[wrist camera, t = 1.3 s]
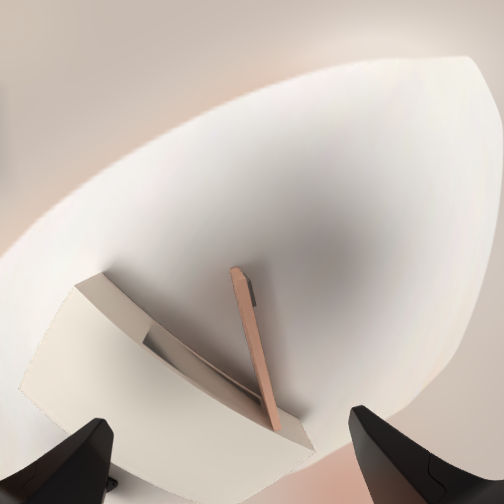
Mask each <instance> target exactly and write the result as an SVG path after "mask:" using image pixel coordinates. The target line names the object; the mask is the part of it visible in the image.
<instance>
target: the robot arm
mask: <svg viewBox="0 0 504 504" xmlns="http://www.w3.org/2000/svg"><path fill="white" fill-rule="evenodd" d="M348 424H349V429H350V433H351V437H352V441H353V445H354V449H355V454H356V457H357V461H358V463H359V466H360V469H361V472H362V474H363V477H364V479H365V482H366V484H367V487H368V489H369V492H370V495H371V497H372V500H373V502H374V504H504V480H487V479H483V478H481V477H478V476H476V475H473V474H471V473H468V472H466V471H464V470H461V469H459V468H457V467H455V466H453V465H451V464H449V463H447V462H445V461H443V460H442V459H440V458H439V457H437V456H435V455H434V454H432V453H430V452H429V451H428V450H426V449H425V448H423V447H422V446H420V445H419V444H417V443H416V442H414V441H413V440H411V439H410V438H408V437H407V436H405V435H404V434H403V433H401V432H399V431H398V430H397V429H395V428H394V427H392V426H391V425H390V424H388V423H387V422H386V421H384V420H383V419H381V418H380V417H379V416H377V415H376V414H374V413H373V412H372V411H370V410H369V409H368V408H366V407H365V406H363V405H359V406H355V407H352V408H351V411H350V416H349V422H348ZM113 441H114V433H113V430H112V429H111V427H110V426H109V424H108V423H107V421H106V420H105V419H103V418H94V419H92V420H91V421H90V422H88V423H87V424H86V425H84V426H83V427H82V428H80V429H79V430H78V431H76V432H75V433H74V434H72V435H71V436H69V437H68V438H67V439H65V440H64V441H63V442H61V443H60V444H58V445H57V446H56V447H54V448H53V449H51V450H50V451H49V452H47V453H46V454H44V455H43V456H42V457H40V458H39V459H37V460H36V461H34V462H33V463H31V464H30V465H28V466H27V467H25V468H24V469H22V470H20V471H18V472H17V473H15V474H13V475H11V476H9V477H7V478H5V479H3V480H1V481H0V504H103V503H104V499H105V495H106V493H108V492H109V491H111V490H112V489H114V488H115V487H117V486H118V482H117V481H115V480H113V479H111V478H110V477H108V473H109V468H110V462H111V455H112V447H113Z"/></svg>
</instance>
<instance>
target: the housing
mask: <svg viewBox="0 0 504 504" xmlns="http://www.w3.org/2000/svg"><path fill="white" fill-rule="evenodd" d="M18 389H19V390H20V391H21V392H22V393H23V394H24V395H25V396H26V397H27V398H28V399H29V400H30V401H31V402H32V403H33V404H34V405H35V406H36V407H38V408H39V409H40V410H41V411H42V412H43V413H44V414H45V415H47V416H48V417H49V418H50V419H51V420H53V421H54V422H55V423H56V424H57V425H59V426H60V427H61V428H62V429H64V430H65V431H66V432H68V433H69V434H70V435H72V434H74V433H75V432H76V431H78V430H79V429H80V428H82V427H83V426H84V425H86V424H87V423H88V422H90V421H91V420H92V419H94V418H103V419H105V420H106V421H107V423H108V424H109V426H110V427H111V429H112V430H113V433H114V441H113V447H112V455H111V462H112V463H113V464H115V465H117V466H118V467H120V468H122V469H124V470H126V471H127V472H129V473H131V474H133V475H135V476H137V477H139V478H141V479H143V480H145V481H147V482H149V483H151V484H153V485H155V486H157V487H159V488H161V489H164V490H166V491H168V492H171V493H173V494H175V495H178V496H180V497H183V498H185V499H188V500H191V501H193V502H196V503H199V504H240V503H242V502H243V501H245V500H247V499H248V498H250V497H252V496H254V495H255V494H257V493H259V492H260V491H262V490H263V489H265V488H267V487H268V486H270V485H271V484H273V483H274V482H276V481H277V480H279V479H280V478H282V477H283V476H284V475H286V474H287V473H289V472H290V471H292V470H293V469H294V468H296V467H297V466H298V465H300V464H301V463H302V462H304V461H305V460H306V459H308V458H309V457H310V456H311V455H313V454H314V453H315V452H316V451H315V449H314V447H313V445H312V444H311V442H310V440H309V438H308V436H307V434H306V432H305V430H304V428H303V426H302V425H301V423H300V421H299V419H297V418H296V417H294V416H292V415H290V414H289V413H287V412H285V411H283V410H282V409H280V408H278V407H277V411H278V415H279V419H280V423H281V427H282V429H280V430H277V431H274V430H273V427H272V424H271V422H270V419H269V416H268V413H267V411H266V408H265V405H264V402H263V399H262V397H260V396H258V395H257V394H255V393H254V392H252V391H250V390H249V389H247V388H246V387H244V386H243V385H241V384H240V383H238V382H237V381H235V380H234V379H232V378H231V377H229V376H228V375H226V374H225V373H223V372H222V371H220V370H219V369H218V368H216V367H215V366H213V365H212V364H210V363H209V362H208V361H206V360H205V359H204V358H202V357H201V356H199V355H198V354H197V353H195V352H194V351H193V350H191V349H190V348H189V347H187V346H186V345H185V344H184V343H182V342H181V341H180V340H178V339H177V338H176V337H175V336H173V335H172V334H171V333H170V332H168V331H167V330H166V329H165V328H163V327H162V326H161V325H160V324H158V323H157V322H156V321H155V320H154V319H152V318H151V317H150V316H149V315H148V314H147V313H145V312H144V311H143V310H142V309H141V308H140V307H139V306H137V305H136V304H135V303H134V302H133V301H132V300H131V299H129V298H128V297H127V296H126V295H125V294H124V293H123V292H122V291H121V290H120V289H119V288H117V287H116V286H115V285H114V284H113V283H112V282H111V281H110V280H109V279H108V278H107V277H106V276H105V275H104V274H103V273H102V272H101V273H99V274H97V275H95V276H93V277H91V278H88V279H86V280H84V281H82V282H80V283H78V284H76V285H74V286H73V288H72V289H71V291H70V292H69V294H68V295H67V297H66V299H65V300H64V302H63V303H62V305H61V307H60V308H59V310H58V312H57V313H56V315H55V317H54V318H53V320H52V322H51V324H50V325H49V327H48V329H47V331H46V333H45V334H44V336H43V338H42V340H41V342H40V344H39V346H38V348H37V350H36V352H35V353H34V355H33V357H32V359H31V362H30V364H29V366H28V368H27V370H26V372H25V374H24V376H23V379H22V381H21V383H20V385H19V388H18Z"/></svg>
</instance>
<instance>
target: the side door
mask: <svg viewBox="0 0 504 504" xmlns="http://www.w3.org/2000/svg"><path fill="white" fill-rule="evenodd" d="M230 273H231V278H232V282H233V286H234V290H235V294H236V298H237V303H238V307H239V311H240V315H241V319H242V323H243V327H244V331H245V335H246V339H247V343H248V346H249V350H250V354H251V358H252V362H253V366H254V370H255V373H256V377H257V381H258V385H259V388H260V392H261V396H262V399H263V402H264V405H265V408H266V411H267V413H268V416H269V419H270V422H271V424H272V427H273V430H274V431H277V430H280V429H282V427H281V423H280V419H279V415H278V411H277V407H276V403H275V399H274V395H273V391H272V387H271V383H270V378H269V374H268V370H267V366H266V362H265V358H264V353H263V349H262V345H261V341H260V336H259V332H258V328H257V324H256V319H255V315H254V311H253V307H255V306H256V302H255V298H254V293H253V289H252V284H251V281H250V280H249V278H248V277H247V276H246V275H245V273H242V272H241V271H240V270H239V268H238V267H234V268H230Z"/></svg>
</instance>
